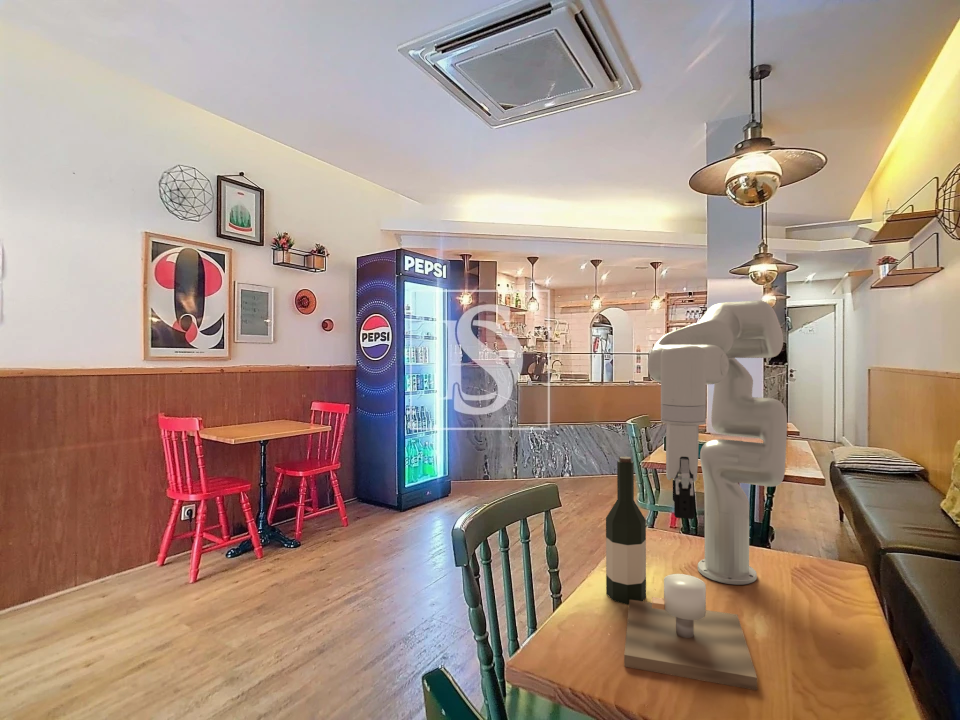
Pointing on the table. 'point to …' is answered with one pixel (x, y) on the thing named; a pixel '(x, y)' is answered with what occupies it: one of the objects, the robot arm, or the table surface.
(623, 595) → the wine bottle
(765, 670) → the table surface
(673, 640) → the post board
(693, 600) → the light bulb
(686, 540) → the table surface
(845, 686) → the table surface
